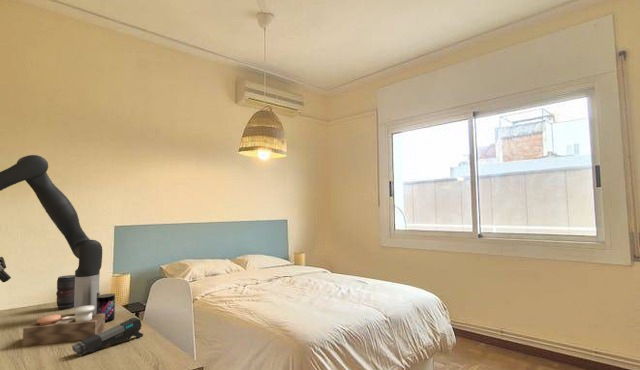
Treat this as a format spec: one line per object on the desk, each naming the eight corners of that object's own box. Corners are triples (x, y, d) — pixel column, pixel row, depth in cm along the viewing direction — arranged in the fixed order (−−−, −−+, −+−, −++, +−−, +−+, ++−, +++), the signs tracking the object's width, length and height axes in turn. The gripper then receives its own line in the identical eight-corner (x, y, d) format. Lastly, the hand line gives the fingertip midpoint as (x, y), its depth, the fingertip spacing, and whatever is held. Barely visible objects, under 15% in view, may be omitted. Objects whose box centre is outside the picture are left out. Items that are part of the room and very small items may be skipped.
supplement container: (91, 323, 140) (92, 297, 141) (103, 317, 147) (104, 293, 148) (107, 323, 139) (107, 297, 140) (118, 318, 146) (118, 293, 147)
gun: (146, 336, 124) (137, 312, 121) (87, 376, 108) (75, 349, 106) (141, 333, 126) (132, 310, 124) (82, 372, 111) (70, 345, 109)
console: (104, 329, 133) (105, 312, 133) (95, 338, 123) (95, 320, 123) (38, 335, 127) (38, 318, 127) (22, 346, 117) (23, 326, 118)
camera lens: (69, 310, 160) (70, 277, 161) (51, 310, 160) (52, 278, 160) (81, 305, 168) (81, 274, 169) (64, 305, 168) (65, 274, 169)
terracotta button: (63, 332, 128) (64, 313, 128) (54, 339, 121) (55, 319, 122) (42, 334, 126) (43, 315, 126) (32, 341, 120) (33, 321, 120)
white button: (96, 323, 131) (97, 304, 131) (90, 329, 124) (90, 309, 125) (77, 325, 129) (77, 306, 129) (69, 331, 123) (69, 311, 123)
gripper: (-33, 239, 115) (5, 276, 118) (-7, 236, 128) (27, 269, 130) (-55, 255, 113) (-15, 292, 116) (-27, 249, 126) (9, 283, 129)
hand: (7, 280), depth 123 cm, fingers closed
